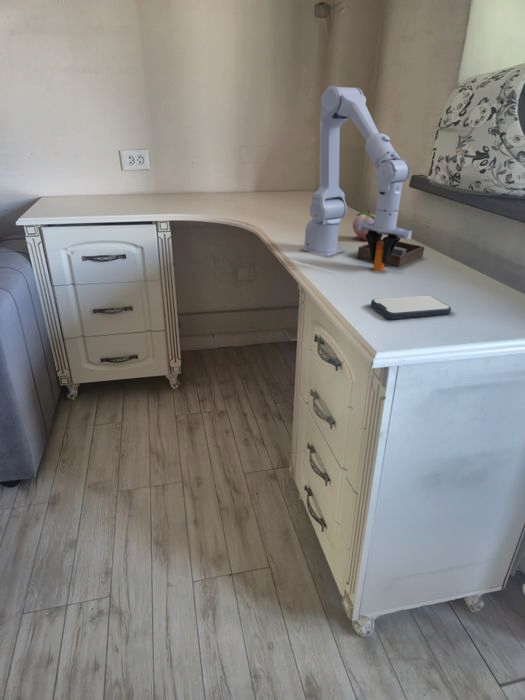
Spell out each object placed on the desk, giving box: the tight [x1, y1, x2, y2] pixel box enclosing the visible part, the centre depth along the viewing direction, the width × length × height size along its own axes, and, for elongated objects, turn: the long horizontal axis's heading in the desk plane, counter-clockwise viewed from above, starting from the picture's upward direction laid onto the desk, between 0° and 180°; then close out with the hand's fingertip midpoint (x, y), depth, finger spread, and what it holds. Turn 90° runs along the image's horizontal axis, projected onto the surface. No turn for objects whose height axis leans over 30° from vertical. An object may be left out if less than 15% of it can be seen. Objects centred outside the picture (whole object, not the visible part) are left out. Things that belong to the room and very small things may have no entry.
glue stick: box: [372, 241, 386, 272], centre depth 131 cm, size 3×3×8 cm
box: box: [357, 238, 425, 268], centre depth 143 cm, size 13×15×4 cm
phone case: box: [370, 295, 452, 320], centre depth 108 cm, size 9×2×16 cm
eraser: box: [391, 247, 407, 256], centre depth 146 cm, size 5×3×2 cm, turn 49°
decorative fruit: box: [352, 209, 375, 242], centre depth 159 cm, size 9×8×10 cm
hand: (379, 261), depth 132 cm, fingers closed on glue stick, 3 cm apart
